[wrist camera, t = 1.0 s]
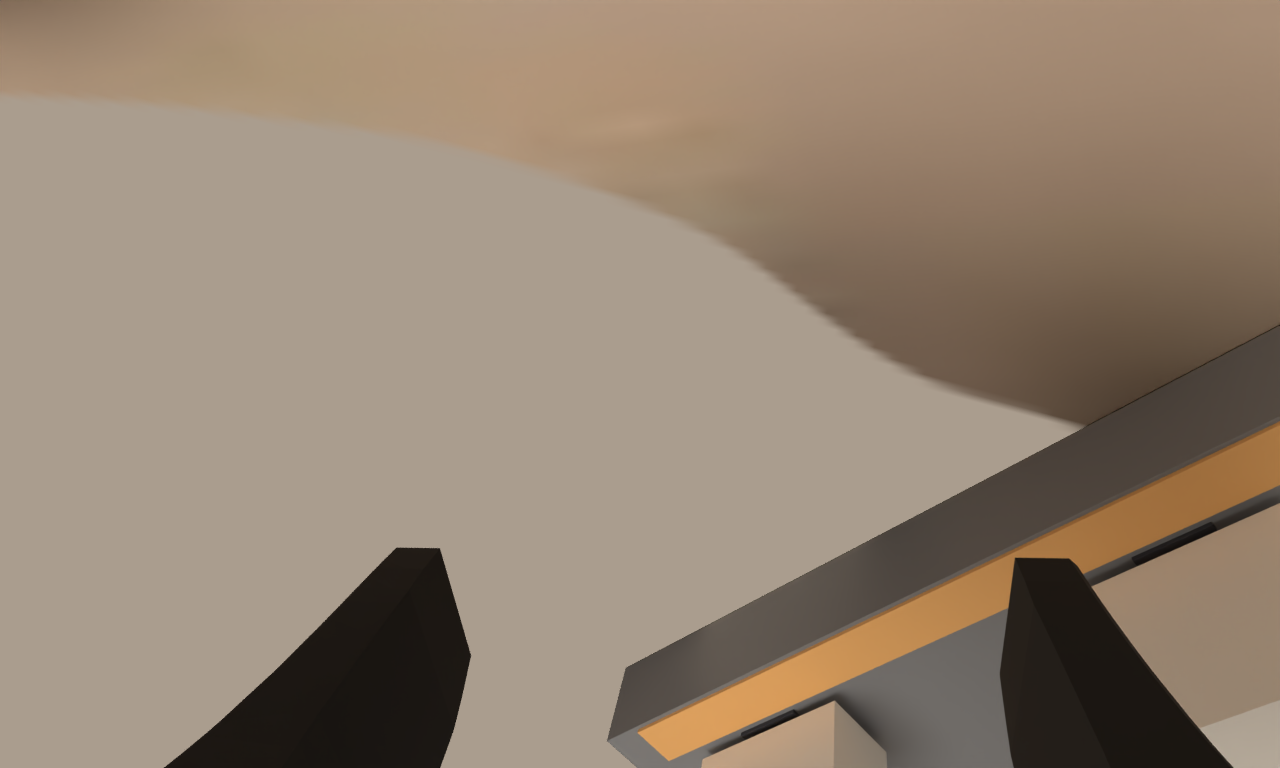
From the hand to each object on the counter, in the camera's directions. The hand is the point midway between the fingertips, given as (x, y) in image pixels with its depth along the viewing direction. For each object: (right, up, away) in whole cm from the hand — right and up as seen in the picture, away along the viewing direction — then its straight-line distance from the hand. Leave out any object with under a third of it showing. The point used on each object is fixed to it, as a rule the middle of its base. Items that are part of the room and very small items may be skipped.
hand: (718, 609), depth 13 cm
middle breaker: (+10, -1, +7) cm, 12 cm away
